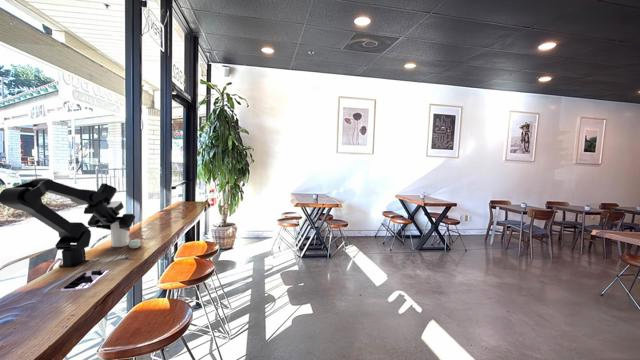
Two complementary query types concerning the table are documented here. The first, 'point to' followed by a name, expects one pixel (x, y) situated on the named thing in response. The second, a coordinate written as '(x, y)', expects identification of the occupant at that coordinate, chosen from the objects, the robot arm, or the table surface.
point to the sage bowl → (134, 243)
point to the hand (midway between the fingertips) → (122, 230)
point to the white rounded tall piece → (119, 236)
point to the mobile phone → (85, 280)
